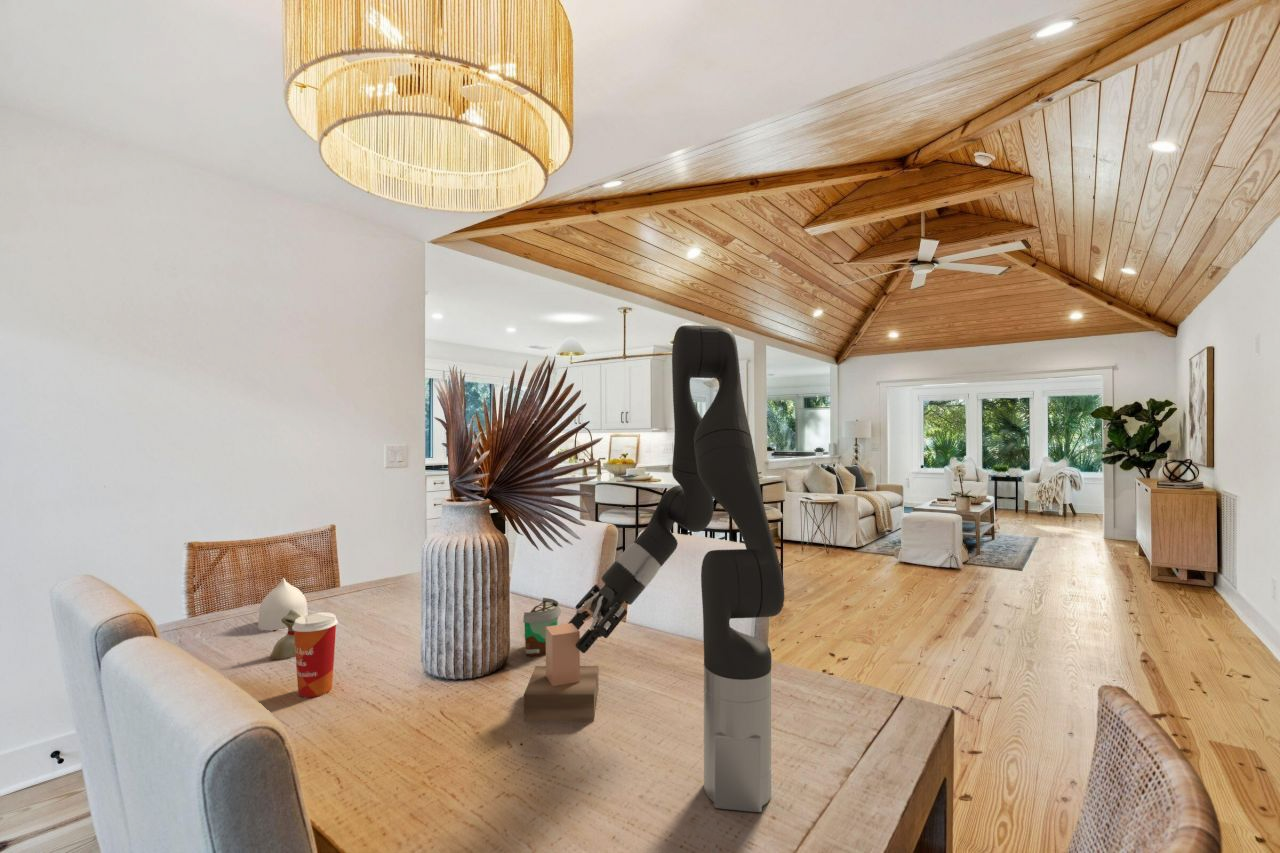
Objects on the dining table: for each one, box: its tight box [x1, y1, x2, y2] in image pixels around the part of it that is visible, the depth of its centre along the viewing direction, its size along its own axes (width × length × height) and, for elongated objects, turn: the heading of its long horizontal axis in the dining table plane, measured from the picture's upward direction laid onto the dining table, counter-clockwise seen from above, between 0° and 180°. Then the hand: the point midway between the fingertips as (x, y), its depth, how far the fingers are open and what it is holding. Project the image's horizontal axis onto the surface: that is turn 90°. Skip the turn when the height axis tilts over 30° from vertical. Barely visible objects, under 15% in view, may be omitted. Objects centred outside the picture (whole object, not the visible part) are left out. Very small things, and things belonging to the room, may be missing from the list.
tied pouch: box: [269, 610, 301, 661], centre depth 132 cm, size 6×8×10 cm
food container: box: [522, 597, 562, 658], centre depth 134 cm, size 12×6×10 cm, turn 168°
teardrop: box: [257, 576, 309, 631], centre depth 152 cm, size 11×11×12 cm
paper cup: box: [292, 612, 339, 699], centre depth 113 cm, size 8×8×14 cm
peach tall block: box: [545, 623, 581, 687], centre depth 108 cm, size 5×5×9 cm
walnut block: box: [523, 665, 599, 723], centre depth 108 cm, size 12×12×5 cm
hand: (572, 641), depth 108 cm, fingers open, 8 cm apart
